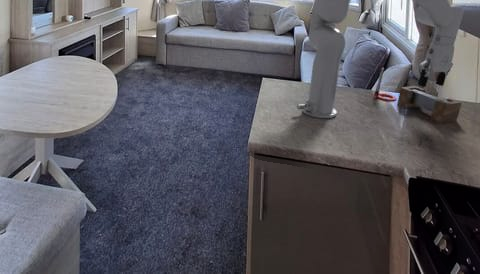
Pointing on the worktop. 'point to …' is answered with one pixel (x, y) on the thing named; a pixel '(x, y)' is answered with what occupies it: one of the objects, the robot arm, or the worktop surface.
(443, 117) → the posts
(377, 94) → the tow hook
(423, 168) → the worktop surface
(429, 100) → the rail
